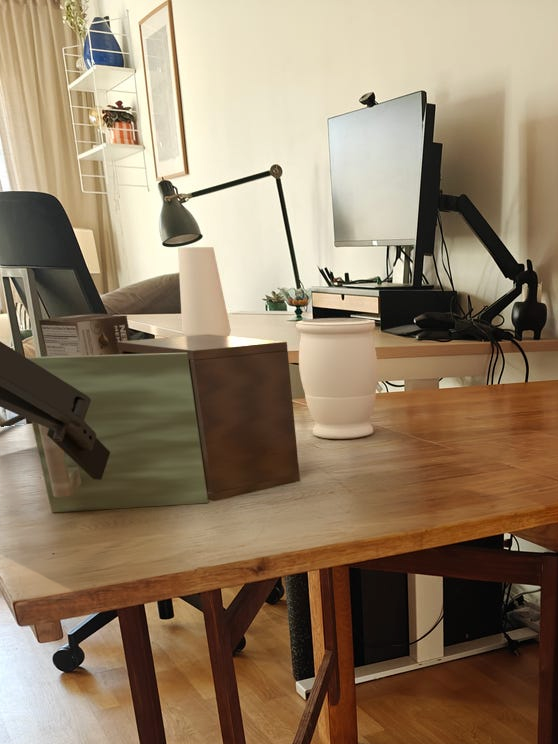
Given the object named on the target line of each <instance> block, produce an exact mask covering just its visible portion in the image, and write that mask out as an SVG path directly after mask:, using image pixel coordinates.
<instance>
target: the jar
mask: <svg viewBox="0 0 558 744" xmlns="http://www.w3.org/2000/svg"><path fill="white" fill-rule="evenodd" d="M375 322H376V321H375V320H374V319H368V318H359V317H356V318H355V317H327V318H325V317H324V318H323V317H322V318H309V319H303V320H298V321H296V322H295V323H296V324H295V328H296V330H297V332H299V333H300V338H299V339H300V340H299V346H298V367H299V376H300V381H301V386H302V388H303V392H304V399H305V403H306V405H307V409H308V412H309V414H310V416H311V417H312V420H314V423H315V424H314V426H313V428H312V435H314V436H315V437H318V438H322V439H330V440H349V439H359V438H363V437H368V436H370V435H372V434H373V433H374V428H373V426H372V424H371V422H370V419H371V418H372V415H373V413H374V410H375V405H376V400H377V399H376V398H377V393H376V392H377V387H378V373H379V371H378V370H379V369H378V368H379V367H378V356H377V350H376V346H375V345H376V344H375V341H374V338H373V335H372V331H374V330H375V328H376V323H375Z"/></svg>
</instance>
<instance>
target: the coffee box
mask: <svg viewBox="0 0 558 744" xmlns="http://www.w3.org/2000/svg"><path fill="white" fill-rule="evenodd" d="M128 321H129V320H128V315H121V314H120V315H115V314H107V313H87V314H78V315H69V316H68V315H67V316H60V317H59V316H58V317H51V318H42V319H38V323H39V329H40V333H41V337H42V343H43V347H44V351H45V357H52V356H86V355H119V353H118V351H119V350H118V346H117V342H119V341H132V338H131V333H130V326H129V322H128Z"/></svg>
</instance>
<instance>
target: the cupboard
mask: <svg viewBox="0 0 558 744" xmlns="http://www.w3.org/2000/svg"><path fill="white" fill-rule="evenodd" d="M117 346H118V350H119V351H118V353H119V355H120V354H153V353H188V358H189V365H190V372H191V380H192V387H193V394H194V401H195V408H196V415H197V422H198V430H199V437H200V444H201V451H202V458H203V465H204V472H205V480H206V487H207V494H208V501H211V502H217V501H221V500H224V499H225V500H226V499H230V498H234V497H238V496H242V495H247V494H252V493H256V492H260V491H265V490H269V489H273V488H277V487H281V486H285V485H286V486H287V485H290V484H294V483H298V482H301V477H300V476H301V475H300V468H299V457H298V456H299V455H298V446H297V445H298V444H297V436H296V434H297V433H296V425H295V423H296V422H295V413H294V403H293V394H292V392H293V391H292V384H291V383H292V381H291V380H292V379H291V372H290V361H289V350H288V342H287V341H284V340H283V341H281V340H273V339H272V340H271V339H263V338H250V337H240V336H230V335H229V336H219V335H209V334H206V335H193V336H184V335H183V336H173V337H171V336H169V337H158V338H146V339H145V338H143V339H134V340H132V339H131V341H119V342H117Z"/></svg>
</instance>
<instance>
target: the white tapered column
mask: <svg viewBox="0 0 558 744" xmlns="http://www.w3.org/2000/svg"><path fill="white" fill-rule="evenodd" d="M177 254H178V275H179V291H180V292H179V293H180V296H179V297H180V313H181V314H180V315H181V332H182V334H183V336H193V335H206V334H209V335H219V336H230V335H231V329H232V328H231V325H230V319H229V316H228V310H227V306H226V301H225V296H224V292H223V287H222V282H221V277H220V273H219V267H218V263H217V259H216V254H215V249H214V247H213V246H209V247H208V246H207V247H206V246H204V247H203V246H202V247H201V246H197V247H196V246H193V247H192V246H191V247H189V246H188V247H185V246H184V247H177Z"/></svg>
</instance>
